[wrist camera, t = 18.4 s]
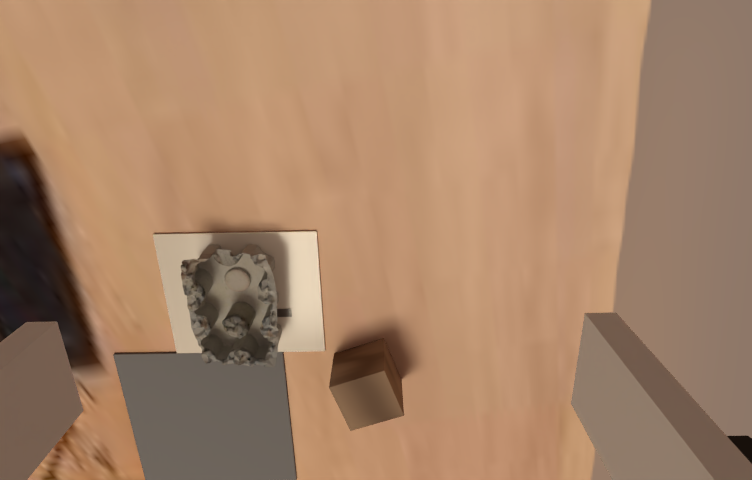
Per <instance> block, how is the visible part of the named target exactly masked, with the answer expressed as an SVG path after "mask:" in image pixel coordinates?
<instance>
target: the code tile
mask: <svg viewBox="0 0 752 480" xmlns="http://www.w3.org/2000/svg"><path fill="white" fill-rule="evenodd" d="M153 238H154V243H155V248H156V253H157V258H158V263H159V268H160V273H161V278H162V283H163V288H164V293H165V298H166V303H167V308H168V313H169V318H170V323H171V327H172V332H173V337H174V342H175V347H176V352H177V354H178V353H202V349H201V347H200V346H199V345H198V341H197V339H196V338H195V335H194V333H193V330H192V328H191V319H190V313H189V310H188V306H187V295H185V294H184V290H183V284H182V279H181V272H182V271H181V265H182V261H183V260H191V259H198V258H199V257H200V255H201V254H202V252H203V251H204V250H205V249H206V247H207V246H208V245H210V244H214V245H217V244H218V245H220V246H221V248H222V249H223V250H231V252H232V254H233V256H236V255H237V254H241V253H242V252H243V250H244V249H245V247H246V246H247V245H248V244H253V245H258V246H259V247H260V248H261V250H262V251H263V252H264V253H266V254H268V255H269V256H272V257H274V260H275V268H274V270H273V272H272V273H273V276H274V281H275V287H276V291H277V292H278V296H279V301H278V303H277V324H280V325H281V328H282V334H281V338H280V340H279V343H278V352H307V351H325V341H324V327H323V312H322V298H321V284H320V270H319V255H318V241H317V231H282V232H228V233H174V234H153Z"/></svg>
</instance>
